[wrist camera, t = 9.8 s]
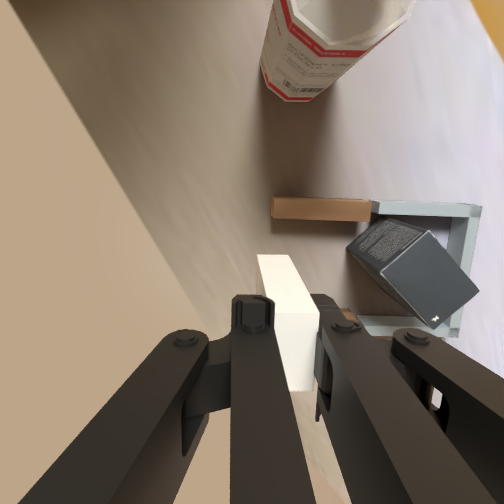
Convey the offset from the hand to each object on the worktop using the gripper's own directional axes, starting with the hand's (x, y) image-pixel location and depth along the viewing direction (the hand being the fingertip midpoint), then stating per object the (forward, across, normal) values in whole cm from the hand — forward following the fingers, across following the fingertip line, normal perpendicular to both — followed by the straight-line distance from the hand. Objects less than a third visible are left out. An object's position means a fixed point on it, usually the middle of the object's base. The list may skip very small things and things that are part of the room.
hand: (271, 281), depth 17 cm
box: (+24, +16, -5) cm, 29 cm away
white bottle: (+24, +5, +15) cm, 29 cm away
